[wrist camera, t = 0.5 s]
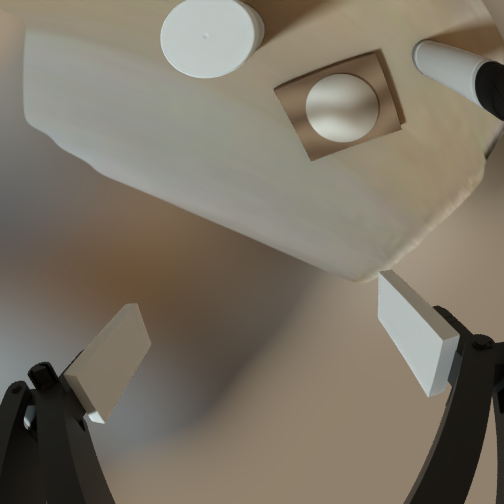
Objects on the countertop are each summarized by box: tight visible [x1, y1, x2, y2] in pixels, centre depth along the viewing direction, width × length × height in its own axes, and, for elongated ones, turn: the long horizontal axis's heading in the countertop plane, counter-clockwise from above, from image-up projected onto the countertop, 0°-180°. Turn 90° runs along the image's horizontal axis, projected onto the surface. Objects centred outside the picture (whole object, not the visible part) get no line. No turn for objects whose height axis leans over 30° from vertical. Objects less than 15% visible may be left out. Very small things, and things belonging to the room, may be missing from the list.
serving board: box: [274, 52, 402, 161], centre depth 37 cm, size 13×16×2 cm
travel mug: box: [412, 40, 504, 121], centre depth 22 cm, size 6×7×20 cm
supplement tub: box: [161, 0, 265, 78], centre depth 26 cm, size 10×10×15 cm
